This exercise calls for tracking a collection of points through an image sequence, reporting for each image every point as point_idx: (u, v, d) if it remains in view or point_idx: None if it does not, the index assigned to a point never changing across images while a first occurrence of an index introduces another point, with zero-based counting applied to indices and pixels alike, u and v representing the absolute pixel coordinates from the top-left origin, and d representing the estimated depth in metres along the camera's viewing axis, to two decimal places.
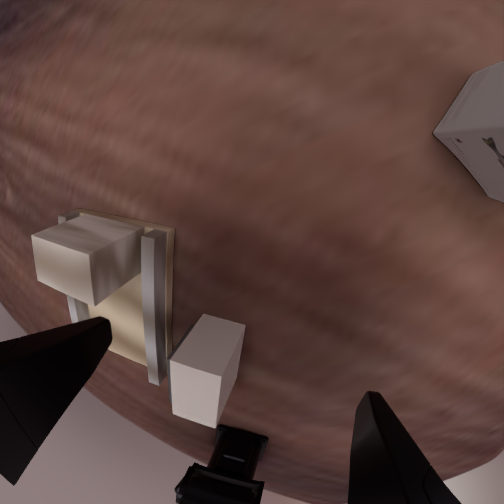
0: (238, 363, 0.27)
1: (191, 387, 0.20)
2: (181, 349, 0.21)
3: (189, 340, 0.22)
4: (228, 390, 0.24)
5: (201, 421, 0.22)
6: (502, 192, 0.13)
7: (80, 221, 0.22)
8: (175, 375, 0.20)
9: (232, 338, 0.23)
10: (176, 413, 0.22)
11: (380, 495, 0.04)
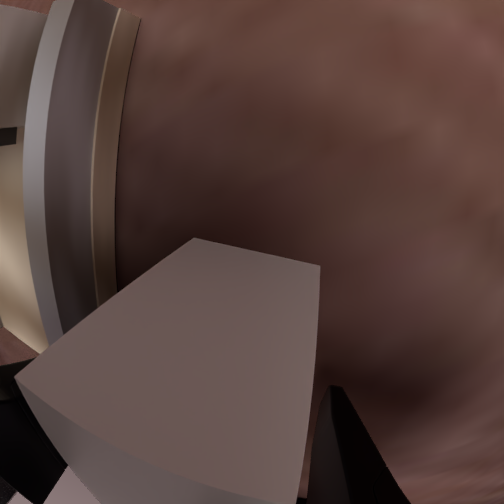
0: None
1: (133, 496, 0.03)
2: (82, 334, 0.04)
3: (129, 301, 0.05)
4: None
5: None
6: None
7: None
8: (62, 445, 0.03)
9: (296, 298, 0.06)
10: None
11: (331, 493, 0.05)
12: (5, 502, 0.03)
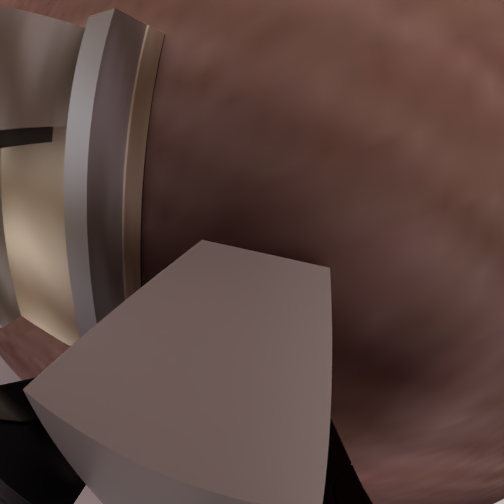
0: None
1: None
2: (93, 343, 0.04)
3: (139, 308, 0.05)
4: None
5: None
6: None
7: None
8: (73, 456, 0.03)
9: (309, 302, 0.06)
10: None
11: None
12: None
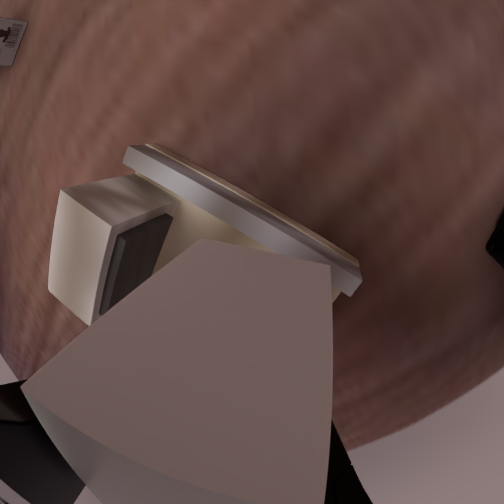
0: None
1: None
2: (91, 340, 0.04)
3: (138, 305, 0.05)
4: None
5: None
6: None
7: None
8: (71, 455, 0.03)
9: (309, 299, 0.06)
10: None
11: None
12: None
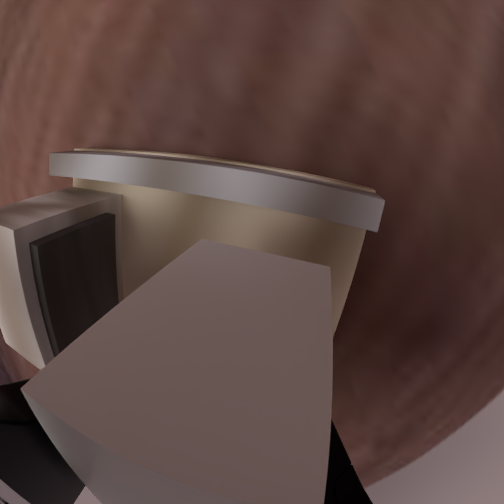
0: None
1: None
2: (91, 342, 0.04)
3: (138, 306, 0.05)
4: None
5: None
6: None
7: None
8: (71, 456, 0.03)
9: (309, 301, 0.06)
10: None
11: None
12: None
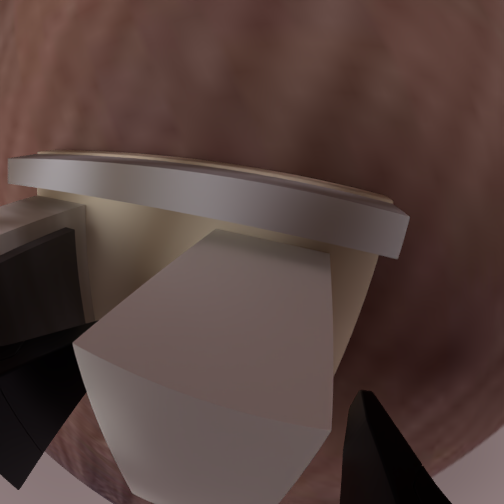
0: None
1: (173, 457, 0.04)
2: (133, 305, 0.05)
3: (169, 280, 0.06)
4: None
5: None
6: None
7: None
8: (107, 410, 0.04)
9: (312, 279, 0.07)
10: (141, 495, 0.06)
11: (371, 495, 0.04)
12: None
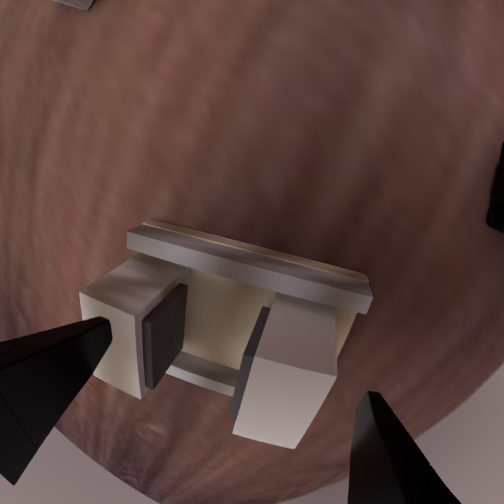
0: None
1: (279, 395, 0.13)
2: (266, 339, 0.14)
3: (272, 326, 0.15)
4: None
5: (276, 441, 0.15)
6: None
7: None
8: (257, 380, 0.13)
9: (327, 322, 0.17)
10: (238, 432, 0.15)
11: (380, 495, 0.04)
12: None
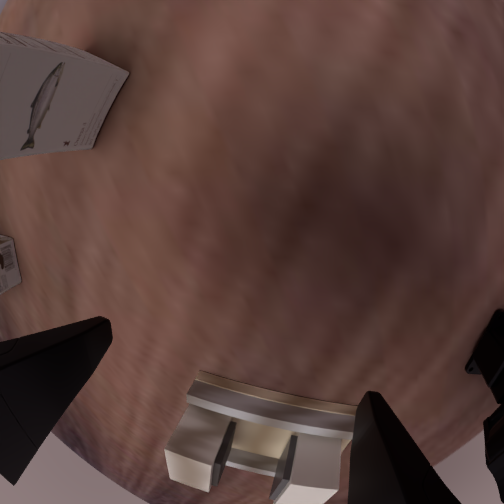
0: None
1: (304, 495, 0.17)
2: (296, 470, 0.18)
3: (300, 458, 0.19)
4: None
5: None
6: (89, 83, 0.15)
7: None
8: (291, 491, 0.17)
9: (335, 446, 0.21)
10: None
11: (380, 495, 0.04)
12: None
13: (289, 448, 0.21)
